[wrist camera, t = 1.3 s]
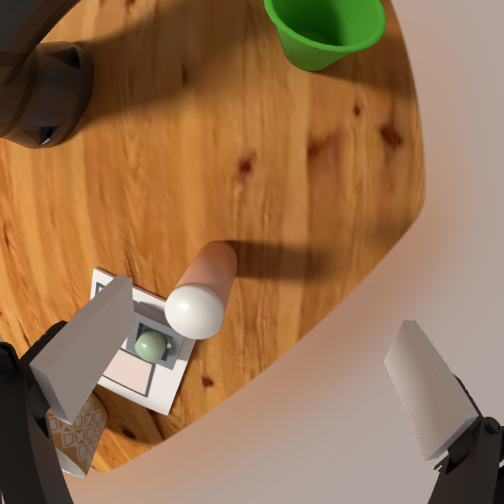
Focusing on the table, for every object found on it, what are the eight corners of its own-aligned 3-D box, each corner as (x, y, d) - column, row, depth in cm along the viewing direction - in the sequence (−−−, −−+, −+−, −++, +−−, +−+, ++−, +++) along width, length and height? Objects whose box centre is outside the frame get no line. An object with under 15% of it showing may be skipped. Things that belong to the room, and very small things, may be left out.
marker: (195, 267, 31) (159, 325, 20) (207, 232, 30) (172, 279, 19) (230, 281, 32) (211, 347, 20) (245, 248, 30) (231, 303, 19)
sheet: (89, 376, 40) (87, 378, 39) (96, 266, 32) (93, 268, 32) (168, 413, 41) (167, 416, 41) (205, 316, 33) (204, 319, 33)
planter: (67, 354, 39) (20, 413, 23) (131, 422, 44) (105, 484, 28) (30, 368, 43) (-6, 412, 27) (83, 425, 48) (58, 471, 32)
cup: (365, 62, 22) (409, 25, 12) (305, 104, 25) (327, 74, 14) (309, 7, 21) (325, -48, 10) (247, 46, 23) (236, -6, 12)
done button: (139, 343, 33) (133, 354, 31) (144, 324, 32) (136, 335, 29) (164, 354, 33) (158, 366, 31) (170, 335, 32) (164, 347, 30)
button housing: (132, 339, 35) (125, 349, 33) (139, 301, 33) (132, 310, 30) (177, 359, 36) (172, 370, 33) (189, 323, 33) (185, 334, 31)
